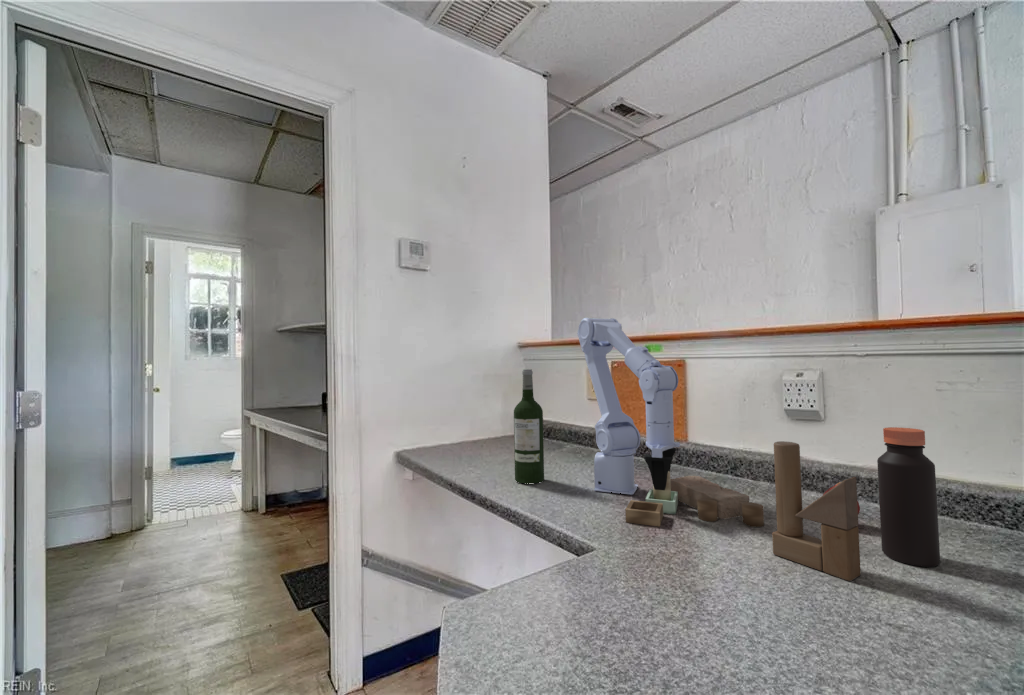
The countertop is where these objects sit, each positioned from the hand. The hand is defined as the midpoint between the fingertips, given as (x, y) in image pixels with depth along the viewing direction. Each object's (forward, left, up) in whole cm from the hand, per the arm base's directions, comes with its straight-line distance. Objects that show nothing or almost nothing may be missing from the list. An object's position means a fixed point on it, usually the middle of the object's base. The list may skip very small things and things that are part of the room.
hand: (661, 484), depth 95 cm
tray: (0, 0, -5) cm, 5 cm away
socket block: (-2, -9, -5) cm, 10 cm away
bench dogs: (+13, -4, -5) cm, 14 cm away
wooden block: (+24, -20, -5) cm, 32 cm away
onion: (+32, +1, -5) cm, 32 cm away
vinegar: (+38, -12, -5) cm, 40 cm away
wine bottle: (-35, +10, -5) cm, 37 cm away
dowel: (0, 0, -4) cm, 4 cm away
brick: (+9, +5, -5) cm, 12 cm away
